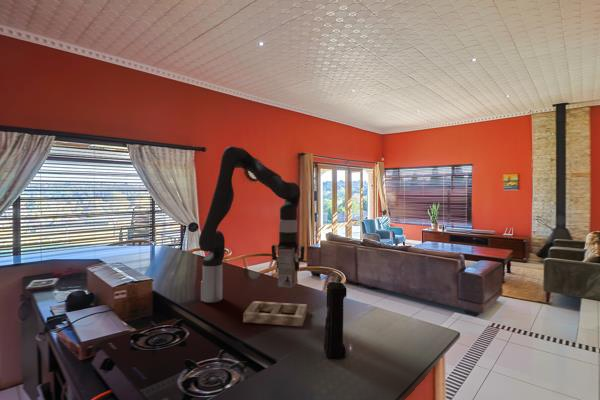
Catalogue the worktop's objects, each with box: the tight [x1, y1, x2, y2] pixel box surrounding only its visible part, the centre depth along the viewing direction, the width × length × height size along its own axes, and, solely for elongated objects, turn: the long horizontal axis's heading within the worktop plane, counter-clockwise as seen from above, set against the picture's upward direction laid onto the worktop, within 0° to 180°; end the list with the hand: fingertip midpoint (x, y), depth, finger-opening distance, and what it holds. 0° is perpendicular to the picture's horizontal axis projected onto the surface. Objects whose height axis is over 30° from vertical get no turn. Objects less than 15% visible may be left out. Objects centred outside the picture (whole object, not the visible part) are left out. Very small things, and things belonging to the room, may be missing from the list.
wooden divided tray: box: [242, 300, 308, 327], centre depth 128 cm, size 24×14×4 cm, turn 82°
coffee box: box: [277, 246, 298, 289], centre depth 127 cm, size 9×6×16 cm
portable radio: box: [323, 279, 348, 360], centre depth 99 cm, size 8×6×25 cm
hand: (288, 270), depth 127 cm, fingers closed on coffee box, 6 cm apart
